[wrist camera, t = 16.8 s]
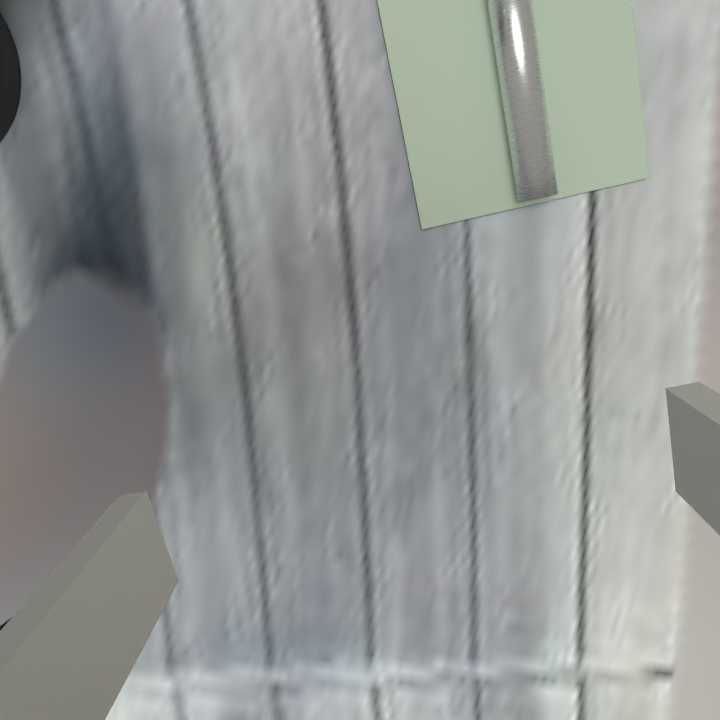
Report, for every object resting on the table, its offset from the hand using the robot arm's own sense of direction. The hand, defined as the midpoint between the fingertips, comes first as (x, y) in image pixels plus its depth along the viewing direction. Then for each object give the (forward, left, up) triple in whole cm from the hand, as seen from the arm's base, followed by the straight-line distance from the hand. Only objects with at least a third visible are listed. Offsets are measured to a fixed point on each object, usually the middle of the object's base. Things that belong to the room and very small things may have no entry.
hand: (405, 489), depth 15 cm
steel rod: (+8, +20, -35) cm, 41 cm away
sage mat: (+7, +21, -36) cm, 42 cm away
